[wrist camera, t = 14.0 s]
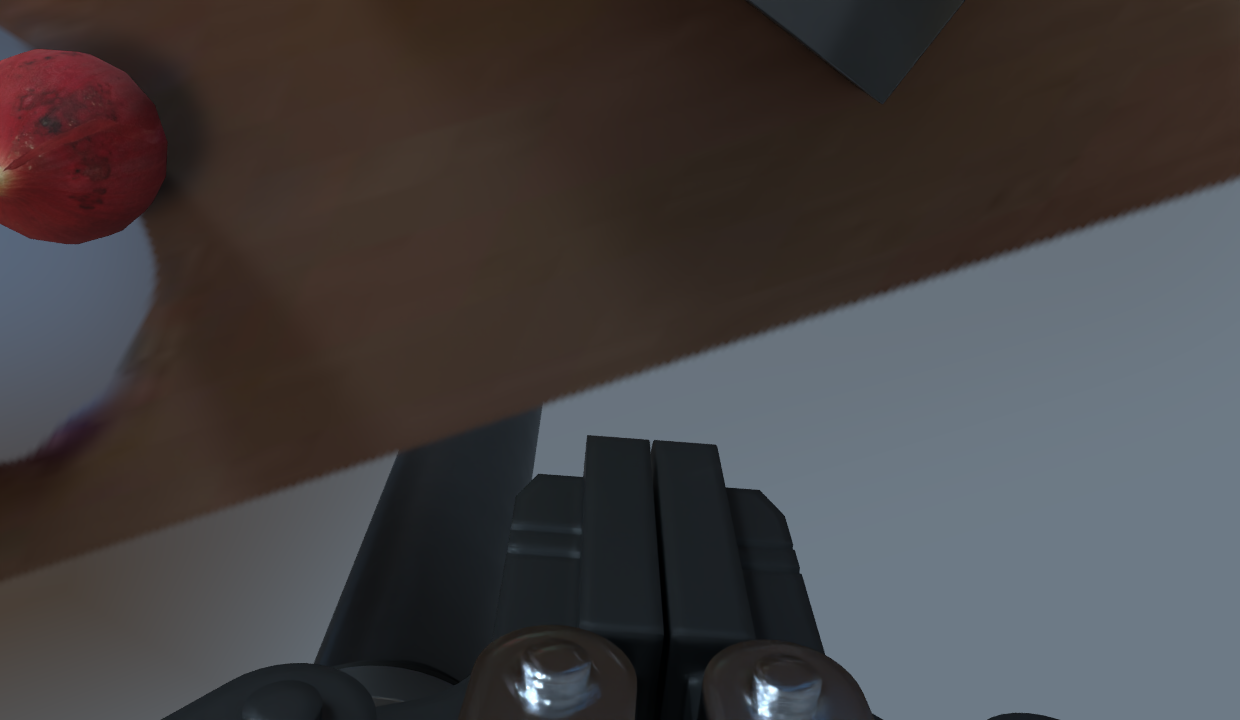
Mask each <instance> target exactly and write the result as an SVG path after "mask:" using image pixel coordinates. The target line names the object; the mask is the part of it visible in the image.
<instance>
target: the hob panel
mask: <svg viewBox="0 0 1240 720" xmlns="http://www.w3.org/2000/svg"><path fill="white" fill-rule="evenodd" d="M745 1H746V2H747V3H749V4H750V5H751V6H753V7H754V8H755V9H757V10H758V11H759V12H760V13H762V14H763V15H764V16H766V17H767V18H768V19H769V20H771V21H772V22H773V23H775V24H776V25H777V26H779V27H780V28H781V29H782V30H784V31H785V32H786V33H788V34H789V35H790V36H792V37H793V38H794V39H795V40H797V41H798V42H799V43H801V44H802V45H803V46H804V47H806V48H807V49H808V50H810V51H811V52H812V53H814V54H815V55H816V56H817V57H819V58H820V59H821V60H823V61H824V62H825V63H826V64H828V65H829V66H830V67H832V68H833V69H834V70H836V71H837V72H838V73H839V74H841V75H842V76H843V77H845V78H846V79H847V80H848V81H850V82H851V83H852V84H854V85H855V86H856V87H858V88H859V89H860V90H862V91H863V92H865V93H866V94H867V95H869V96H870V97H872V98H873V99H875V100H876V101H878V102H879V103H881V104H883V103H884V102H885V101H886V100H887V99H888V97H889V96H890V95H891V94H892V92H893V91H894V90H895V89H896V87H897V86H898V85H899V83H900V82H901V81H902V80H903V78H904V77H905V76H906V75H907V73H908V72H909V71H910V70H911V68H912V67H913V66H914V65H915V63H916V62H917V61H918V59H919V58H920V57H921V56H922V54H923V53H924V52H925V51H926V49H927V48H928V47H929V46H930V44H931V43H932V42H933V40H934V39H935V38H936V37H937V35H938V34H939V33H940V32H941V30H942V29H943V28H944V27H945V25H946V24H947V23H948V22H949V20H950V19H951V18H952V16H953V15H954V14H955V13H956V11H957V10H958V9H959V8H960V6H961V5H962V4H963V3H964V1H965V0H745Z"/></svg>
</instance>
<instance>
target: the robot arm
mask: <svg viewBox="0 0 1240 720" xmlns="http://www.w3.org/2000/svg"><path fill="white" fill-rule="evenodd" d="M799 570H800V567H799V563H798V560H797V556H796V553H795V550H793V543H792V539H791V536H790V532H789V529H788V526H787V522H786V519H785V516H784V515H783V514H782V513H781V512H780V511H779V510H778V508H777V507H776V506H775V505H774V504H773V503H772V502H771V501H770V500H769V499H767V497H766V496H765V495H764V494H763V493H762V492H761V491H760V490H751V489H737V488H726V487H725V483H724V478H723V473H722V468H721V463H720V458H719V453H718V448H717V446H716V445H712V444H699V443H686V442H673V441H660V440H654V441H653V444H652V449H651V453H650V442H649V440H643V439H631V438H618V437H603V436H591V435H587V442H586V452H585V463H584V476H583V477H574V476H561V475H547V474H538V475H537V476H536V477H535V478H534V479H533V480H532V481H531V482H530V483H529V484H528V485H527V486H526V487H525V488H524V489H523V490H522V491H521V492H520V493H519V494H518V495H517V496H516V499H515V505H514V511H513V517H512V523H511V530H510V535H509V541H508V548H507V554H506V560H505V566H504V572H503V578H502V584H501V590H500V596H499V602H498V608H497V614H496V620H495V626H494V632H493V638H492V643H490V644H489V645H488V646H487V647H486V648H485V649H484V650H483V651H482V653H481V654H480V655H479V657H478V658H477V660H476V662H475V665H474V667H473V670H472V673H471V675H469V676H468V677H467V678H466V679H464V680H463V681H461V682H460V683H458V684H457V685H455V686H453V687H451V688H449V689H446V690H444V691H442V692H439V693H437V694H434V695H431V696H428V697H424V698H419V699H415V700H410V701H405V702H399V703H393V704H388V705H382V706H377V707H375V704H374V701H373V699H372V696H371V695H370V693H369V692H368V690H367V689H366V688H365V686H364V685H362V684H361V683H360V682H359V681H358V680H357V679H355V678H354V677H352V676H350V675H349V674H347V673H345V672H343V671H340V670H337V669H335V668H332V667H327V666H323V665H318V664H308V663H293V664H292V663H290V664H282V665H274V666H270V667H266V668H261V669H258V670H255V671H252V672H249V673H247V674H244V675H242V676H240V677H238V678H236V679H234V680H232V681H230V682H228V683H226V684H224V685H222V686H221V687H219V688H217V689H215V690H213V691H212V692H210V693H208V694H206V695H204V696H203V697H201V698H199V699H197V700H196V701H194V702H192V703H190V704H189V705H187V706H185V707H183V708H181V709H179V710H178V711H176V712H174V713H172V714H170V715H169V716H167V717H165V718H163V719H161V720H883V719H881V718H879V717H877V716H876V715H874V714H872V713H871V710H870V708H869V706H868V703H867V701H866V698H865V696H864V694H863V692H862V690H861V688H860V687H859V685H858V683H857V682H856V681H855V679H854V678H853V677H852V676H851V674H849V673H848V672H847V671H846V670H845V669H844V668H843V667H842V666H841V665H839V664H838V663H837V662H835V661H834V660H832V659H831V658H829V657H827V656H826V655H825V653H824V649H823V646H822V642H821V639H820V635H819V632H818V629H817V626H816V622H815V618H814V615H813V611H812V608H811V605H810V601H809V598H808V594H807V591H806V587H805V584H804V580H803V577H802V574H800V573H799ZM988 720H1058V719H1055V718H1051V717H1047V716H1043V715H1037V714H1030V713H1010V714H1002V715H998V716H995V717H992V718H990V719H988Z"/></svg>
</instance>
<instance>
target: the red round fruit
mask: <svg viewBox="0 0 1240 720" xmlns="http://www.w3.org/2000/svg"><path fill="white" fill-rule="evenodd" d="M166 163H167V139H166V136H165V134H164V131H163V128H162V125H161V122H160V119H159V116H158V113H157V110H156V107H155V105H154V104H153V102H152V101H151V100H150V99H149V98H148V97H147V96H146V94H145V93H144V92H143V91H142V90H141V89H140V88H139V86H138V85H137V84H136V83H135V82H134V81H133V80H132V79H131V77H130V76H129V75H128V74H127V73H126V72H124V71H122V70H120V69H118V68H116V67H114V66H112V65H110V64H108V63H106V62H104V61H102V60H100V59H99V58H97V57H95V56H93V55H91V54H87V53H81V52H73V51H59V50H45V49H34V50H31V51H27V52H24V53H21V54H18V55H15V56H13V57H10V58H7V59H4V60H1V61H0V224H2V225H4V226H6V227H8V228H10V229H12V230H14V231H16V232H18V233H20V234H22V235H24V236H26V237H28V238H30V239H36V240H44V241H49V242H56V243H63V244H80V243H84V242H87V241H91V240H95V239H98V238H102V237H105V236H109V235H112V234H114V233H117V232H120V231H122V230H124V229H125V228H126V227H127V226H128V225H129V224H131V223H132V222H133V221H134V220H135V219H136V218H138V217H139V216H140V215H141V214H142V213H143V212H145V210H146V209H147V208H148V207H149V206H150V205H151V204H152V202H153V201H154V199H155V197H156V195H157V193H158V191H159V189H160V187H161V185H162V183H163V181H164V179H165V177H166Z"/></svg>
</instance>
